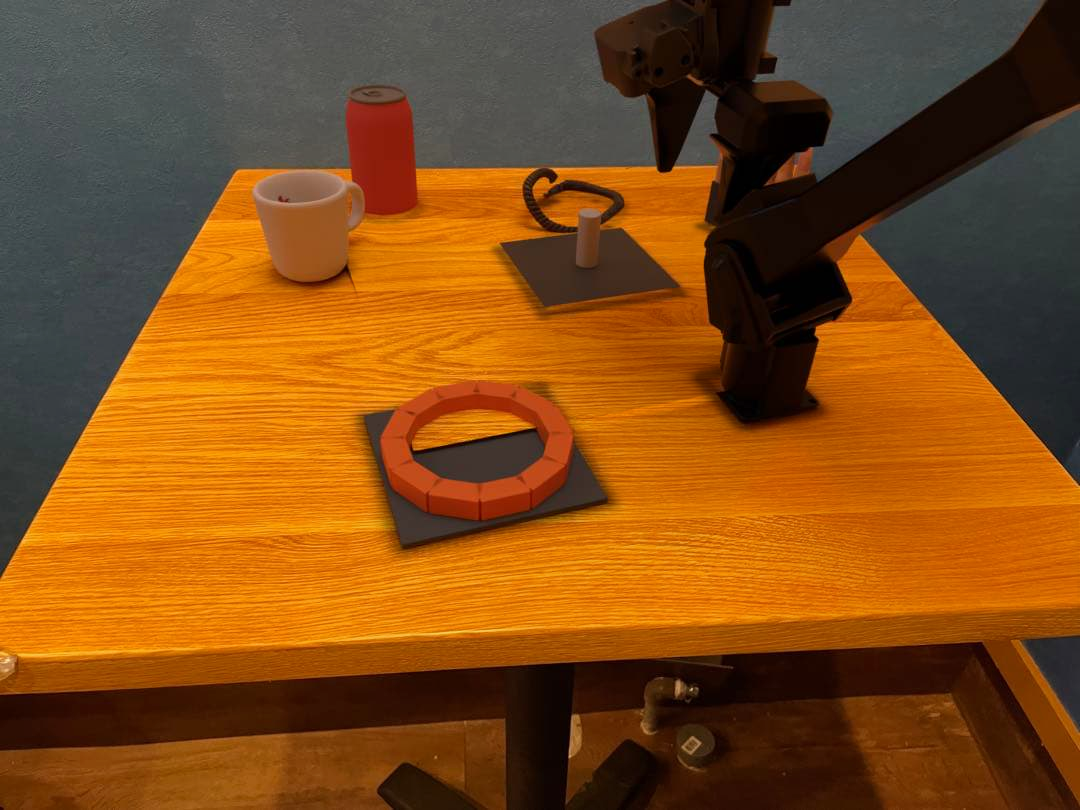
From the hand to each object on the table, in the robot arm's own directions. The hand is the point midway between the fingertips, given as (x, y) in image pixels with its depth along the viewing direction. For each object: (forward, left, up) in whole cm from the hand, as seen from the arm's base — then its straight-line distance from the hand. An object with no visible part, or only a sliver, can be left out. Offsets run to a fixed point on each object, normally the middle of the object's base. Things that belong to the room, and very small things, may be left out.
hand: (692, 197), depth 60 cm
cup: (+21, +25, -12) cm, 35 cm away
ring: (-10, +20, -12) cm, 25 cm away
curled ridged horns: (+25, -1, -12) cm, 28 cm away
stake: (+13, +2, -12) cm, 18 cm away
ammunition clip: (+14, -16, -12) cm, 24 cm away
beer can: (+32, +17, -12) cm, 38 cm away
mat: (-10, +19, -12) cm, 25 cm away
